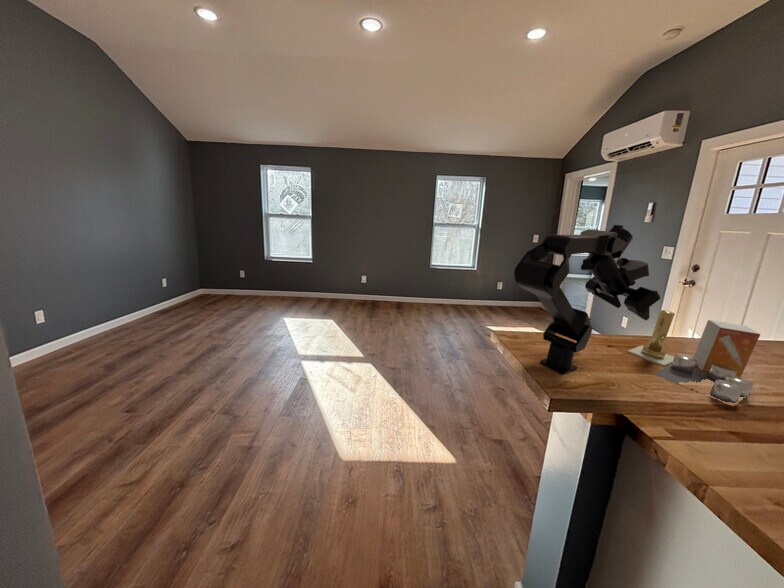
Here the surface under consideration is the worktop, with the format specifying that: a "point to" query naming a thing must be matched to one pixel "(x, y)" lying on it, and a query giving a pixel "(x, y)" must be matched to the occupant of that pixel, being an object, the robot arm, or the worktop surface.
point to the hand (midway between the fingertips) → (632, 312)
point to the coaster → (663, 362)
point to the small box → (725, 346)
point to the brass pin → (659, 335)
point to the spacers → (717, 379)
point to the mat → (681, 375)
